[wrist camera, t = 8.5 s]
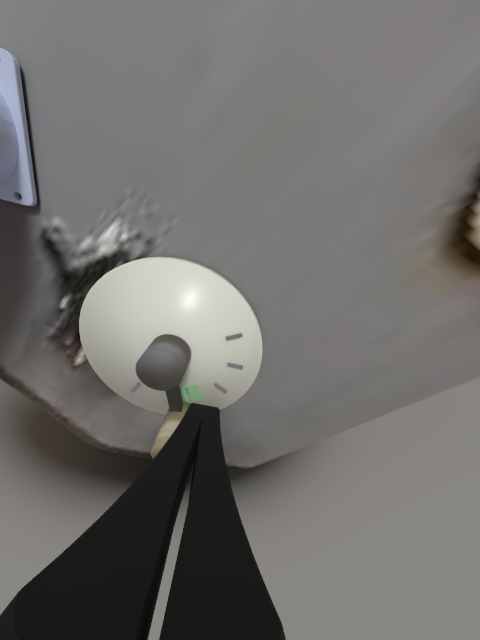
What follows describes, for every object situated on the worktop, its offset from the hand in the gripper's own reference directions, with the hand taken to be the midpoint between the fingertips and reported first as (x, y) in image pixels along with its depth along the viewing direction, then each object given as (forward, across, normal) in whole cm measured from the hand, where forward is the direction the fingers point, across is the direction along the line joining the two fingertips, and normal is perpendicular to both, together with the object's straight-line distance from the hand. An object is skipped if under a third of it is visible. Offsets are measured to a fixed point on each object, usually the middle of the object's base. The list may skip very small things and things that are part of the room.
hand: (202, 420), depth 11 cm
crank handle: (+9, +3, +6) cm, 11 cm away
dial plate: (+10, +4, +3) cm, 11 cm away
